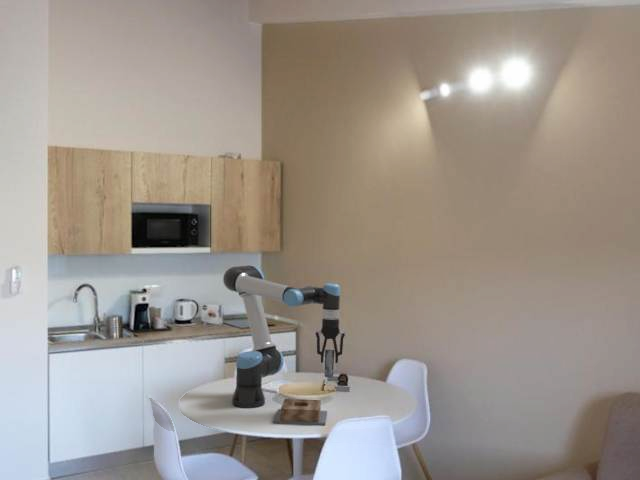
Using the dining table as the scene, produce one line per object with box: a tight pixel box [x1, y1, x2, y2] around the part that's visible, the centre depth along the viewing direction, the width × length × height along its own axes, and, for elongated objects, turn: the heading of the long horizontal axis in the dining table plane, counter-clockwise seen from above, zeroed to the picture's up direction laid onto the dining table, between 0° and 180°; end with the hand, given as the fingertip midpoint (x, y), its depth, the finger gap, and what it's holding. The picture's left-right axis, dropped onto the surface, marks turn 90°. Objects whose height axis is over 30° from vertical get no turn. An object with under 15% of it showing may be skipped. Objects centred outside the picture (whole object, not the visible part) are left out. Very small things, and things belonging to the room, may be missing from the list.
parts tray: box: [323, 375, 351, 392], centre depth 351 cm, size 13×22×2 cm, turn 177°
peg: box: [324, 348, 335, 378], centre depth 304 cm, size 4×4×12 cm
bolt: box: [336, 373, 349, 386], centre depth 350 cm, size 6×5×15 cm
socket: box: [272, 398, 328, 426], centre depth 292 cm, size 22×18×6 cm
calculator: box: [261, 379, 295, 394], centre depth 344 cm, size 13×20×2 cm, turn 148°
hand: (329, 369), depth 305 cm, fingers closed on peg, 4 cm apart
